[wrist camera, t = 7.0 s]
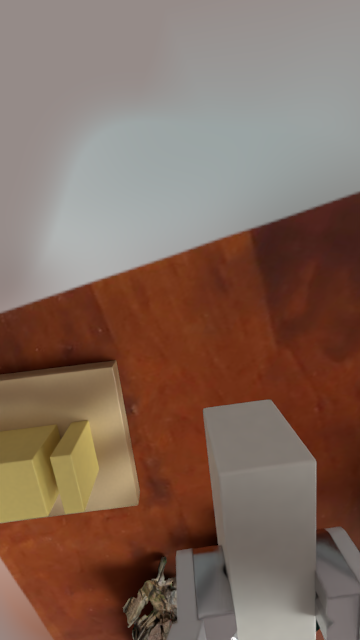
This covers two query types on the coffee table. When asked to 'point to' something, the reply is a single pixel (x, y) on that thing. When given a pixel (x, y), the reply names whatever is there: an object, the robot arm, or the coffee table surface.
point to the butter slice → (75, 466)
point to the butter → (27, 472)
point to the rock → (164, 600)
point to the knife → (264, 518)
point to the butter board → (74, 406)
